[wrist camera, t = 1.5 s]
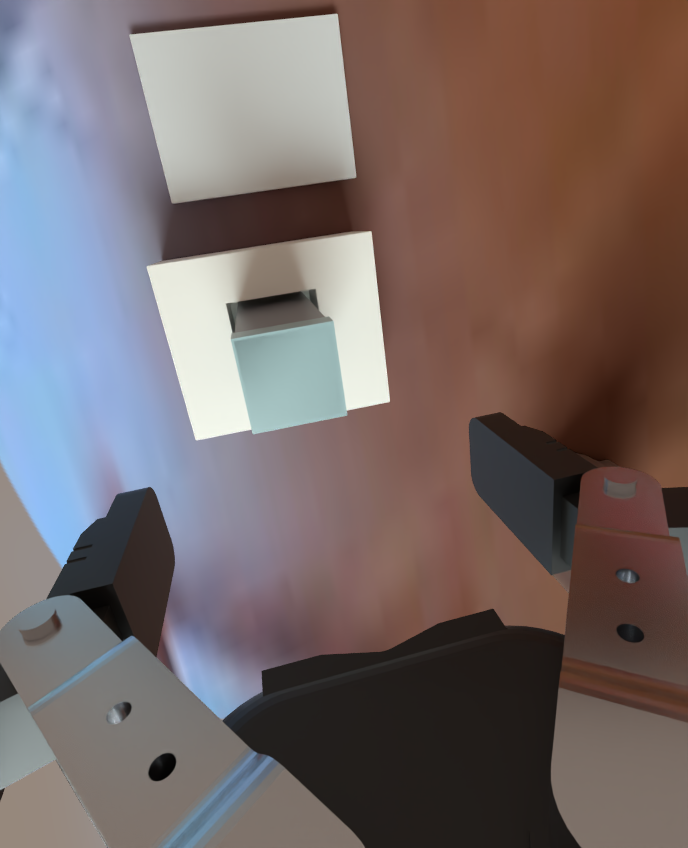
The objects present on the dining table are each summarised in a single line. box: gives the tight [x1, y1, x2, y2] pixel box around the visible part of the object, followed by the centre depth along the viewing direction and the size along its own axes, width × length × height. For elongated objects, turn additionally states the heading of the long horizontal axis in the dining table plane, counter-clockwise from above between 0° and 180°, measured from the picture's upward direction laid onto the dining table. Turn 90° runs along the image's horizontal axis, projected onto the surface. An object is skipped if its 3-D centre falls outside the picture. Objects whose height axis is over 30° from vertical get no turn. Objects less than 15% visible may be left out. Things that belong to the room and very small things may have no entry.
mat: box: [130, 14, 356, 204], centre depth 28 cm, size 11×8×1 cm
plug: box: [231, 291, 347, 434], centre depth 26 cm, size 4×4×12 cm
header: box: [147, 231, 390, 440], centre depth 30 cm, size 12×10×5 cm
